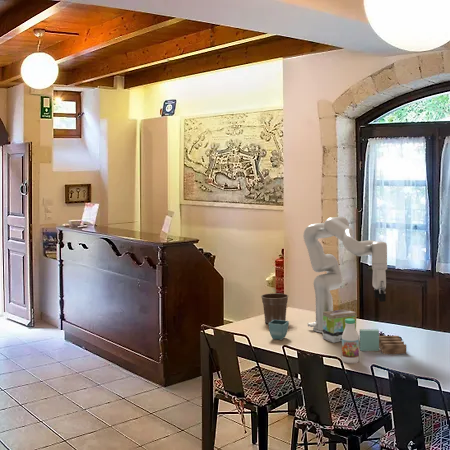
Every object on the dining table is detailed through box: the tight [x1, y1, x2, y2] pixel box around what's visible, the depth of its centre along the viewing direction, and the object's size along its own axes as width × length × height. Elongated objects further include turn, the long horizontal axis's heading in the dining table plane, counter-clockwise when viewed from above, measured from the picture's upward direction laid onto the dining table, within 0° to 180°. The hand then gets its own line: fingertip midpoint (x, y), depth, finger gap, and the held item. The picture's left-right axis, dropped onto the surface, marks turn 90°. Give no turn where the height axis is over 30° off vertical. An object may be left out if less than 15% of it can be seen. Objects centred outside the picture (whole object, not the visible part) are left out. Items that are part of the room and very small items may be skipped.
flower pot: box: [267, 320, 290, 341], centre depth 328 cm, size 9×9×9 cm
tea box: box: [322, 308, 357, 344], centre depth 324 cm, size 15×10×15 cm
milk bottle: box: [341, 318, 360, 364], centre depth 286 cm, size 8×8×20 cm
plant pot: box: [260, 292, 289, 324], centre depth 362 cm, size 16×16×16 cm
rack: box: [379, 335, 407, 355], centre depth 304 cm, size 11×16×4 cm
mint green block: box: [359, 328, 380, 352], centre depth 304 cm, size 9×3×10 cm, turn 87°
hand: (379, 299), depth 311 cm, fingers open, 9 cm apart
